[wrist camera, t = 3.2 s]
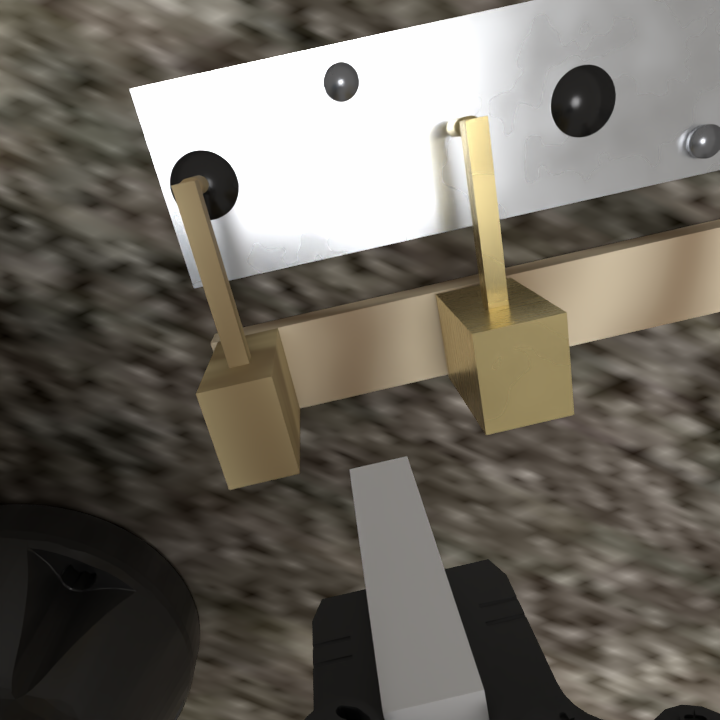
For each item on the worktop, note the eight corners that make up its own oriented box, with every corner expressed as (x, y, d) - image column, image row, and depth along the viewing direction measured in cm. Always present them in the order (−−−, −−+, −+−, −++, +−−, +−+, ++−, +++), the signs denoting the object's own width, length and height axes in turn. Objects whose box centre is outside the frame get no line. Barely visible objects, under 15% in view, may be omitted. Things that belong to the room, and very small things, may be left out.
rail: (239, 410, 24) (220, 491, 19) (166, 181, 21) (114, 195, 15) (726, 298, 25) (855, 344, 19) (736, 55, 21) (898, 21, 15)
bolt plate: (198, 282, 22) (192, 291, 21) (137, 91, 20) (125, 87, 18) (731, 162, 23) (757, 163, 21) (739, -41, 20) (770, -54, 19)
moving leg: (449, 377, 23) (486, 435, 19) (409, 128, 20) (442, 122, 15) (519, 360, 23) (574, 414, 19) (492, 109, 20) (551, 98, 15)
